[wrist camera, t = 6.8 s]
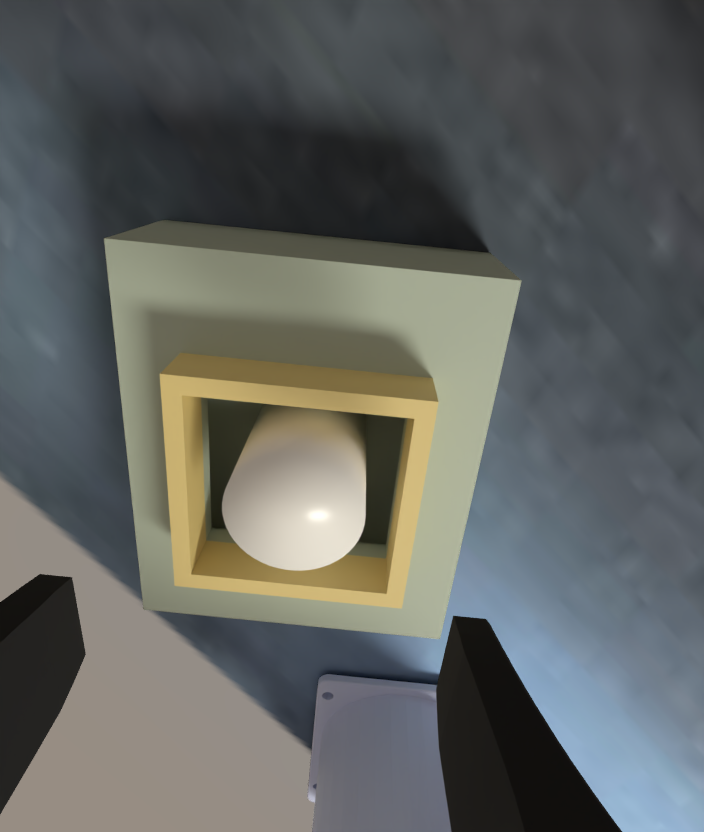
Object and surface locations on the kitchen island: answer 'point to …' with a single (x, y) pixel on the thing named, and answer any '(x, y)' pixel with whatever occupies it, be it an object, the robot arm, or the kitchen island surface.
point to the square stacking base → (308, 388)
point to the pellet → (299, 487)
